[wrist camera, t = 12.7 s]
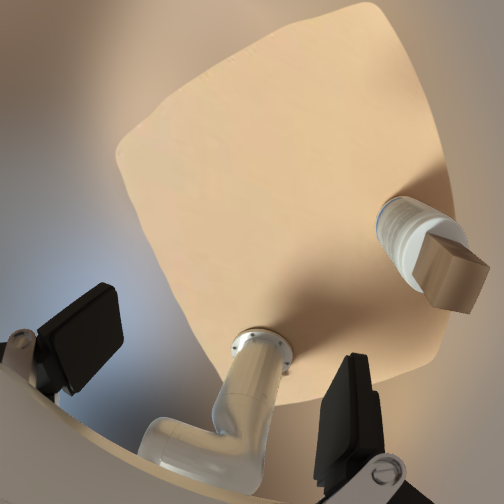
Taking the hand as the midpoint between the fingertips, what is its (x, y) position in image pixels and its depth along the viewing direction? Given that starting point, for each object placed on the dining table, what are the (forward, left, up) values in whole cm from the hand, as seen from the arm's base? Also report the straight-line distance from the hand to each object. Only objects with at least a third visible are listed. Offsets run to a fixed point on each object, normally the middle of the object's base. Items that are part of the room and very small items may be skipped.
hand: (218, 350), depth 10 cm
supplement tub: (-8, -16, -35) cm, 39 cm away
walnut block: (-8, -16, -20) cm, 27 cm away
